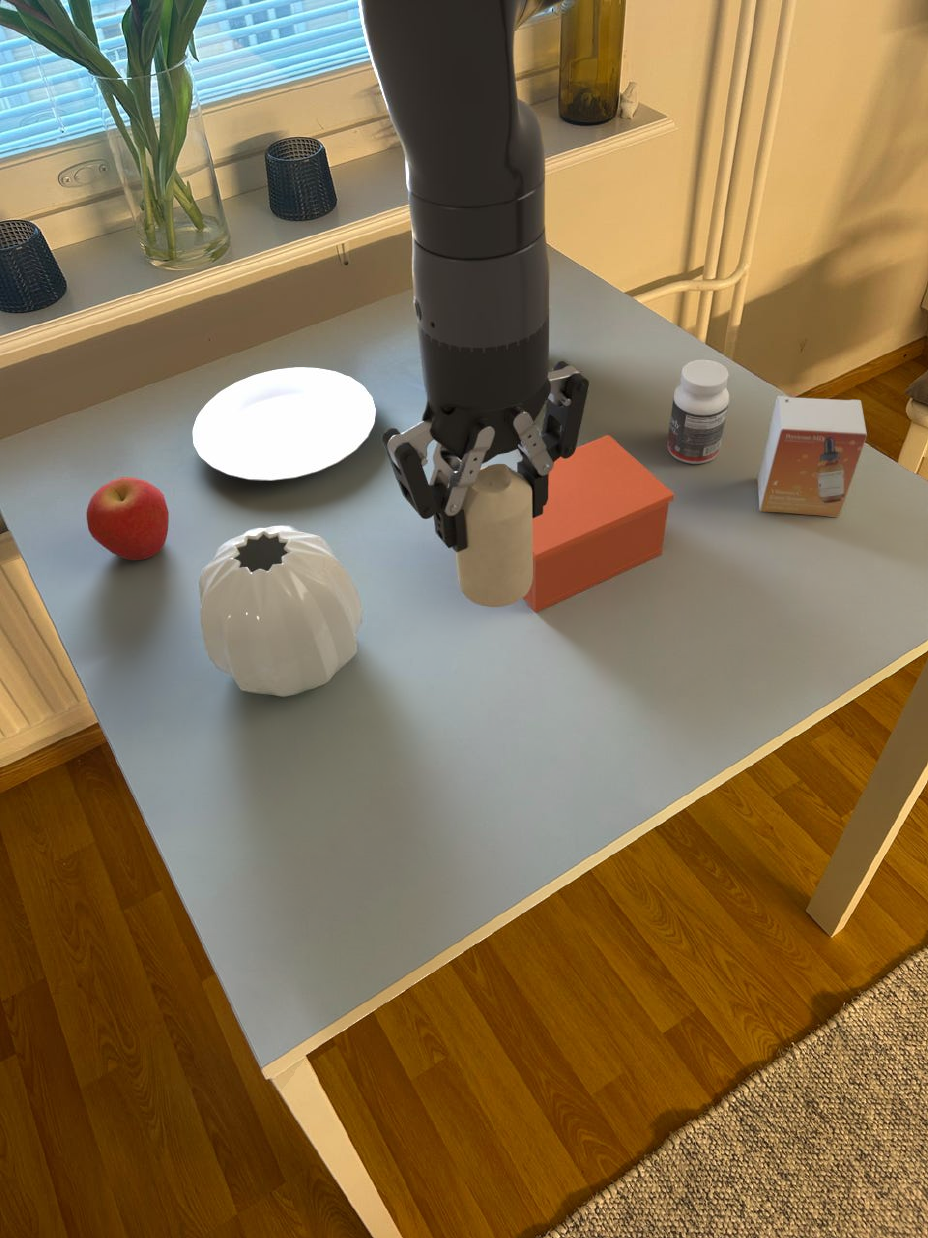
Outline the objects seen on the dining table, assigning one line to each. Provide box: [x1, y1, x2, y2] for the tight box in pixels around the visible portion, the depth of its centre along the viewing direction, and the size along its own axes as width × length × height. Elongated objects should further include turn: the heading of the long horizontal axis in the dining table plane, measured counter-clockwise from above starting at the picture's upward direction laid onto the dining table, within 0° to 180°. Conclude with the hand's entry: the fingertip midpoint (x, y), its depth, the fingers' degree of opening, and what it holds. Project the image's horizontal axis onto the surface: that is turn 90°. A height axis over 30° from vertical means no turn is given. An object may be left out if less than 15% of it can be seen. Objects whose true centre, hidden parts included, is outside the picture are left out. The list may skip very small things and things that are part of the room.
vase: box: [198, 525, 363, 698], centre depth 81 cm, size 14×14×13 cm
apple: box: [85, 476, 170, 561], centre depth 94 cm, size 8×8×8 cm
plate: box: [192, 366, 377, 482], centre depth 107 cm, size 21×21×2 cm
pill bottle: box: [666, 359, 730, 465], centre depth 99 cm, size 6×6×10 cm
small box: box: [757, 395, 868, 518], centre depth 92 cm, size 8×6×10 cm
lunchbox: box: [522, 502, 670, 613], centre depth 90 cm, size 15×11×7 cm
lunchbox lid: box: [532, 434, 675, 561], centre depth 88 cm, size 15×11×1 cm
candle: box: [455, 463, 533, 608], centre depth 65 cm, size 6×6×10 cm
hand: (493, 525), depth 65 cm, fingers closed on candle, 5 cm apart
